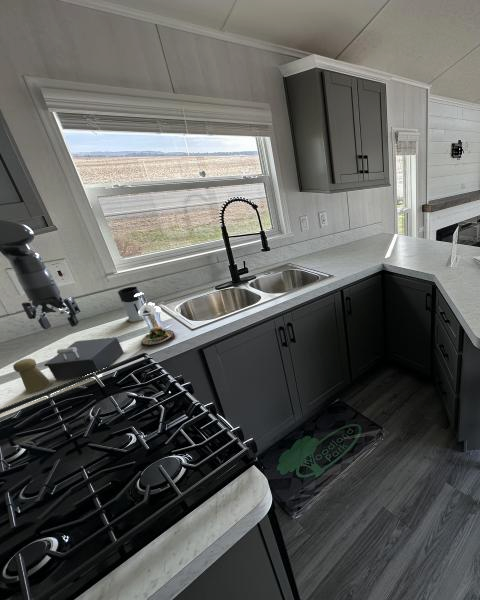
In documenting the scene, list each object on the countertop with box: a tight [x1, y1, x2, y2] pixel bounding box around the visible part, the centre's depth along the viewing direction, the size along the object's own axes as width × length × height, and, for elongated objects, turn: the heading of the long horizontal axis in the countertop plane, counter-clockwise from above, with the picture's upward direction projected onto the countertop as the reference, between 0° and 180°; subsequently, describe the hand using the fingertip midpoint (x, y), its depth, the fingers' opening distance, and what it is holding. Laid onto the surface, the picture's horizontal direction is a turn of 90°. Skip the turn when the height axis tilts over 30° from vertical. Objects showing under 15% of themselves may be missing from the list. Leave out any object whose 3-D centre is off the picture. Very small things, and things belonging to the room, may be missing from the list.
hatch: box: [43, 336, 118, 367], centre depth 122 cm, size 15×15×5 cm
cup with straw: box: [133, 292, 165, 331], centre depth 145 cm, size 8×9×20 cm
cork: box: [13, 358, 51, 393], centre depth 114 cm, size 6×6×11 cm
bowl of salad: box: [140, 325, 176, 346], centre depth 140 cm, size 12×12×8 cm
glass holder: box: [117, 286, 148, 323], centre depth 158 cm, size 9×14×15 cm, turn 72°
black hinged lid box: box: [47, 338, 125, 381], centre depth 125 cm, size 15×15×7 cm
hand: (61, 326), depth 114 cm, fingers open, 8 cm apart
